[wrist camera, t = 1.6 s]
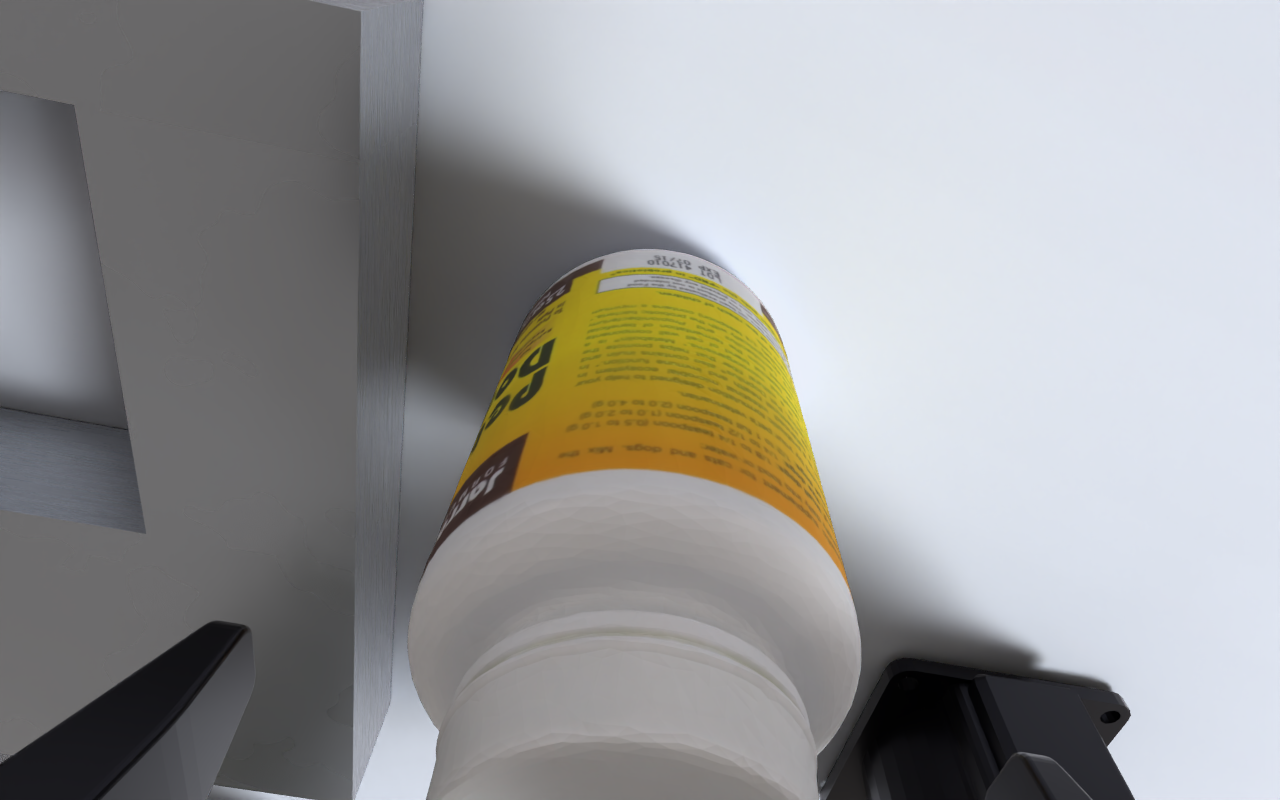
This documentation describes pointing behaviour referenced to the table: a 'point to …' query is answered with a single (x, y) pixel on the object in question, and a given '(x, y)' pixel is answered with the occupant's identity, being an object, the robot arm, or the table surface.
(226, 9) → the jig block
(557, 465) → the supplement bottle
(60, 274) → the table surface
